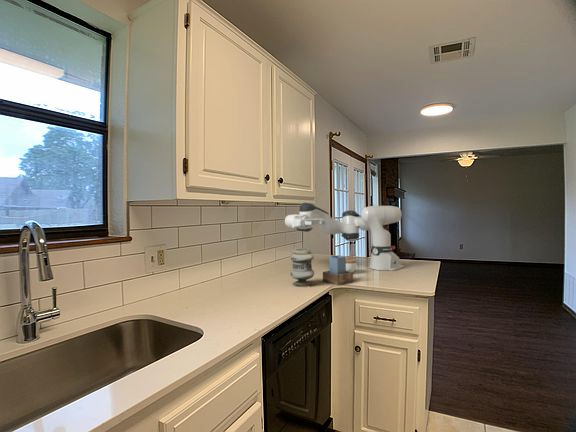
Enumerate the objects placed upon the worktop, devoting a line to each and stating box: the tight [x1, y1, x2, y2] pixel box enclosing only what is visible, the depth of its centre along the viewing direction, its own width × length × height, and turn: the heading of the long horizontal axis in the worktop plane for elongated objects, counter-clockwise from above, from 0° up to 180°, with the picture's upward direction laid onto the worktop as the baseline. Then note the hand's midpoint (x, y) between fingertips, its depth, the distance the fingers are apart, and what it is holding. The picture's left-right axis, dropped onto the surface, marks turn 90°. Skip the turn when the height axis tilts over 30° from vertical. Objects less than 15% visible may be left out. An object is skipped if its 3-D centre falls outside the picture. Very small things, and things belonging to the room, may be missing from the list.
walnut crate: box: [322, 270, 354, 286], centre depth 171 cm, size 11×11×5 cm
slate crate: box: [328, 255, 347, 275], centre depth 171 cm, size 6×6×12 cm
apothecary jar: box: [289, 247, 315, 288], centre depth 166 cm, size 12×12×18 cm
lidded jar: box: [346, 256, 358, 273], centre depth 192 cm, size 11×11×9 cm
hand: (318, 222), depth 188 cm, fingers open, 8 cm apart
